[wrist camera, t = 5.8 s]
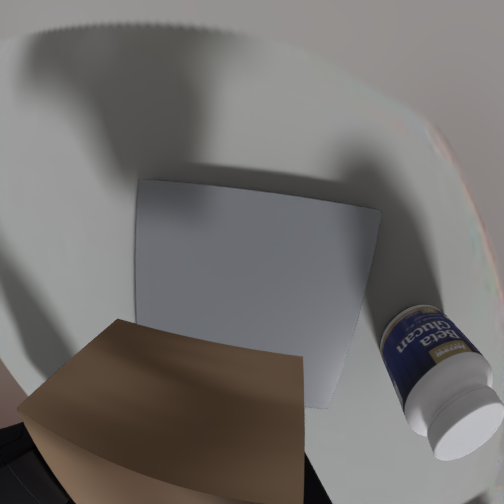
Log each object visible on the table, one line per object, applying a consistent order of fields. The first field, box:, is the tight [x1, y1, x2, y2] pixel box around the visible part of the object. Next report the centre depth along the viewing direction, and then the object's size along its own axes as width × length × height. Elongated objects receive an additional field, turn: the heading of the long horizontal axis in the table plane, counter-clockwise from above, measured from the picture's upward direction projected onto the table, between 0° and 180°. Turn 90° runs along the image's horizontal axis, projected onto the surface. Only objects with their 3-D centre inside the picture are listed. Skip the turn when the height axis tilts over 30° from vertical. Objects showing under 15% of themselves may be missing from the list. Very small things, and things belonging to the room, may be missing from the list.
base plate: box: [135, 180, 382, 409], centre depth 18 cm, size 14×14×1 cm
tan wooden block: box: [17, 319, 305, 504], centre depth 7 cm, size 6×6×5 cm
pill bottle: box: [380, 305, 504, 461], centre depth 13 cm, size 5×5×10 cm
